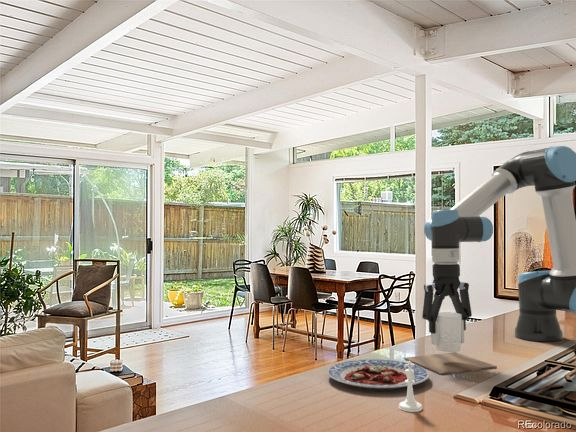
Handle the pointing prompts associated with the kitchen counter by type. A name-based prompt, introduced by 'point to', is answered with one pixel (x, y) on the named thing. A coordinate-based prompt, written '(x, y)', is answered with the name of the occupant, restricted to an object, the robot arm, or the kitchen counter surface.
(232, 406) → the kitchen counter surface
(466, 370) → the plate
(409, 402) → the chess piece
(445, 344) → the white cup
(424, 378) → the ceramic plate
